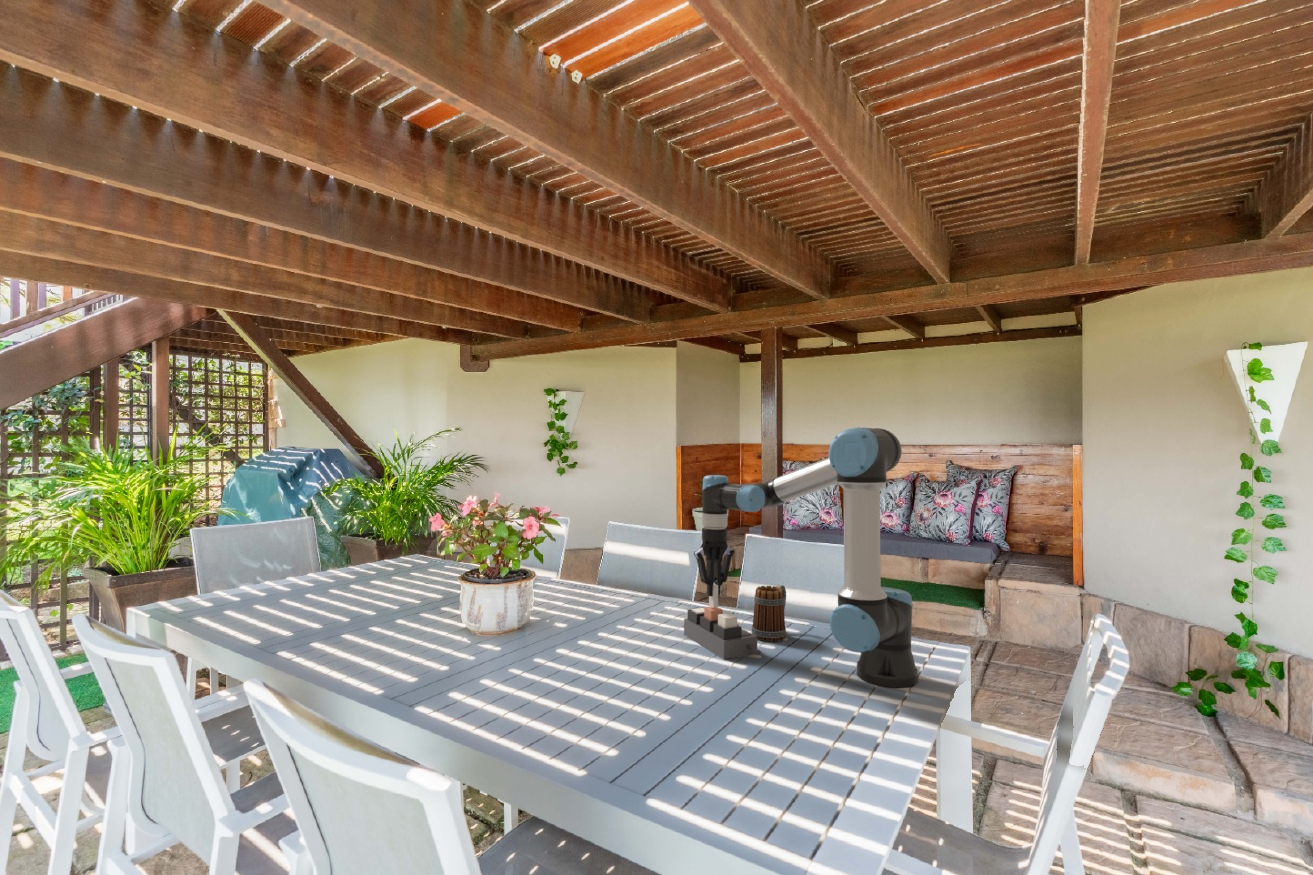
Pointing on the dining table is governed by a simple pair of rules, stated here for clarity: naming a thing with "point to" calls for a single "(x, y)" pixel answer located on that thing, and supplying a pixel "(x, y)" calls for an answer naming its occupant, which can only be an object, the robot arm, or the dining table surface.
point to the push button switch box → (720, 637)
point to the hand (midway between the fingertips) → (713, 606)
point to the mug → (769, 613)
